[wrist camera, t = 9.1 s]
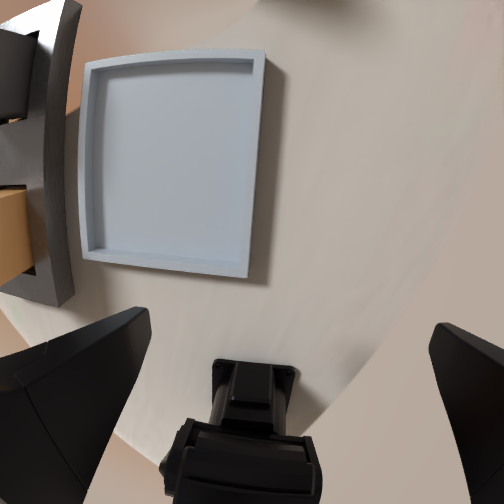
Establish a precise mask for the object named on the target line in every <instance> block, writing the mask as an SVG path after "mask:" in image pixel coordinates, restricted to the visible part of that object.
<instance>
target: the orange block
mask: <svg viewBox="0 0 504 504" xmlns="http://www.w3.org/2000/svg"><path fill="white" fill-rule="evenodd" d="M34 265H35V264H34V258H33V251H32V244H31V236H30V227H29V216H28V204H27V186H16V187H9V188H6V189H2V190H0V286H2V285H3V284H5V283H7V282H8V281H10V280H11V279H13V278H14V277H16V276H18V275H19V274H21V273H22V272H24V271H26V270H27V269H29V268H31V267H32V266H34Z"/></svg>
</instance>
